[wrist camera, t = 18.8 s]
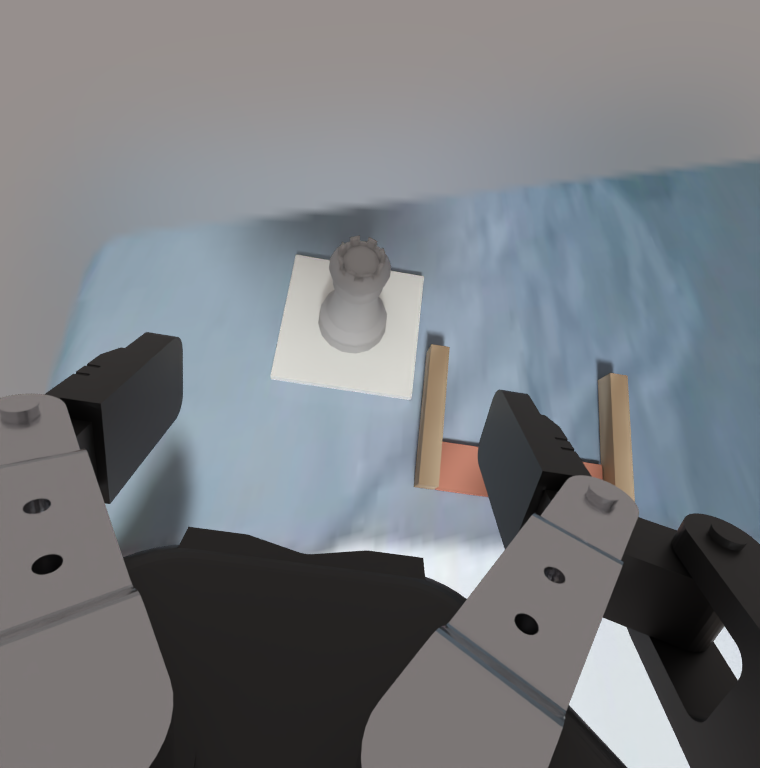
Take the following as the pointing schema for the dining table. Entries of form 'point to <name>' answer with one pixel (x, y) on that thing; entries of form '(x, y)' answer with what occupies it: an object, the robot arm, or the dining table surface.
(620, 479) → the wooden u-shaped frame
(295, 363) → the tile
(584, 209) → the dining table surface
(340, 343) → the rook chess piece
